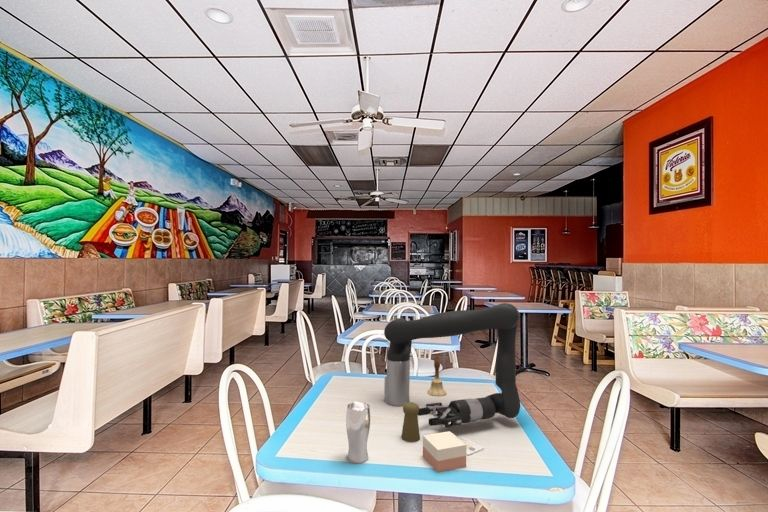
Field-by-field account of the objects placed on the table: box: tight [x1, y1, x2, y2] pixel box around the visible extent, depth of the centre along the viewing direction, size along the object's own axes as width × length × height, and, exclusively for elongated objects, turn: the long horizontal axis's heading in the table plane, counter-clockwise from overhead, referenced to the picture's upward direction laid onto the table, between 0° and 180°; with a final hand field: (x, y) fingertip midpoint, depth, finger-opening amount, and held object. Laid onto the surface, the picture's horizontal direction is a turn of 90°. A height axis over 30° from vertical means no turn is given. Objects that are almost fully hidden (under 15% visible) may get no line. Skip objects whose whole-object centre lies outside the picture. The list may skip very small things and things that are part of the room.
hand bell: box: [426, 355, 447, 397], centre depth 167 cm, size 8×8×16 cm
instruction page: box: [457, 435, 485, 457], centre depth 120 cm, size 10×7×1 cm
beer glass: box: [345, 401, 371, 465], centre depth 111 cm, size 7×7×15 cm
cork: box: [400, 401, 421, 443], centre depth 125 cm, size 6×6×11 cm
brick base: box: [422, 430, 467, 473], centre depth 110 cm, size 9×9×6 cm
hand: (423, 417), depth 126 cm, fingers open, 8 cm apart
